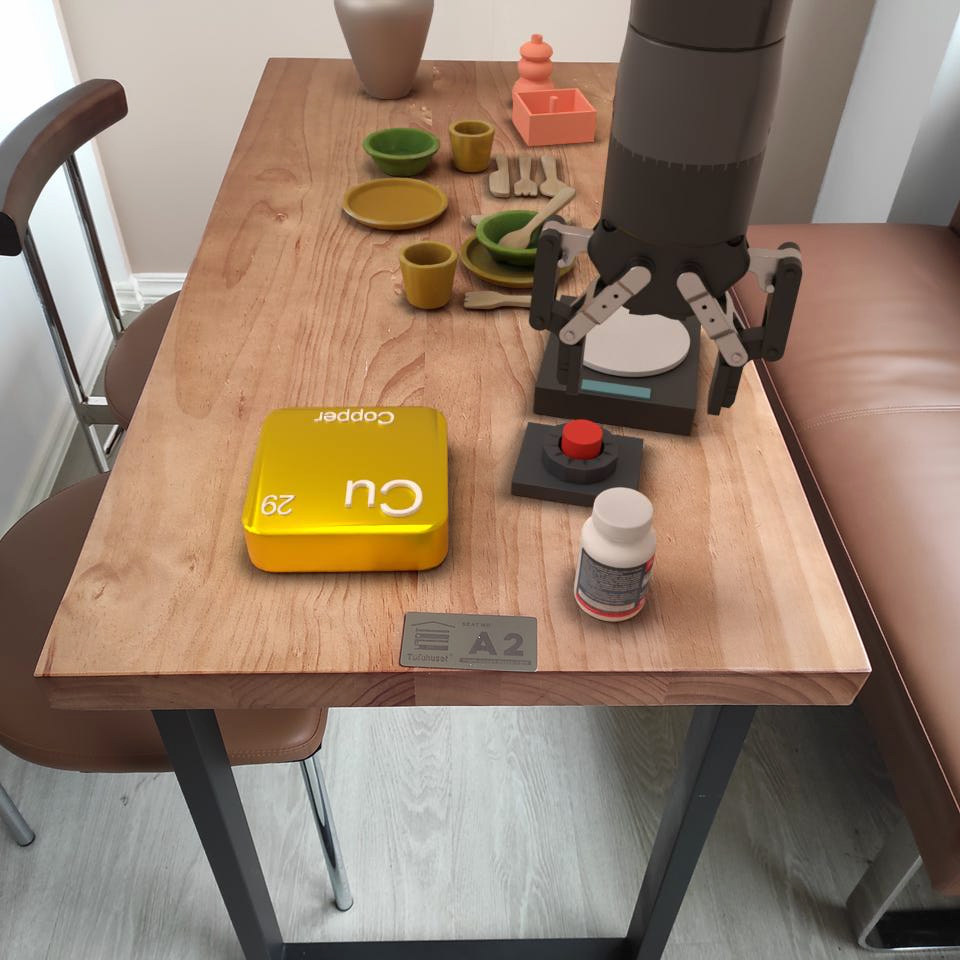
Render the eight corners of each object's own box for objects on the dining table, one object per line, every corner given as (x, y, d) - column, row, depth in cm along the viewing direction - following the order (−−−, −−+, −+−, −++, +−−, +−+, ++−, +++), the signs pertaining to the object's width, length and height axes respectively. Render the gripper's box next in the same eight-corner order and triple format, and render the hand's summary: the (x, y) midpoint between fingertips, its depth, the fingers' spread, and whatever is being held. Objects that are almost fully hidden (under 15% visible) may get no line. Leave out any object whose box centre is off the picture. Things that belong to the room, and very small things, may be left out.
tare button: (602, 439, 77) (604, 422, 76) (598, 463, 75) (600, 446, 73) (564, 433, 77) (566, 416, 76) (558, 457, 75) (560, 440, 74)
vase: (424, 113, 136) (420, -83, 120) (329, 104, 138) (312, -89, 121) (443, 79, 147) (442, -105, 130) (355, 72, 149) (343, -111, 132)
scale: (696, 337, 93) (703, 305, 91) (690, 436, 82) (697, 401, 79) (558, 319, 95) (561, 287, 93) (533, 413, 84) (535, 379, 81)
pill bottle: (649, 624, 66) (668, 536, 60) (575, 623, 66) (587, 534, 60) (640, 569, 70) (658, 481, 64) (571, 567, 70) (582, 480, 64)
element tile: (447, 443, 80) (446, 399, 77) (448, 572, 69) (448, 527, 66) (272, 444, 80) (264, 400, 76) (245, 575, 68) (235, 529, 65)
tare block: (641, 450, 80) (646, 423, 78) (633, 514, 74) (638, 486, 72) (527, 434, 81) (529, 406, 79) (510, 494, 76) (512, 466, 74)
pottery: (593, 141, 130) (601, 68, 123) (528, 146, 128) (532, 72, 121) (557, 95, 143) (562, 27, 136) (498, 99, 141) (500, 30, 134)
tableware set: (585, 320, 95) (591, 265, 91) (314, 314, 95) (308, 259, 91) (562, 155, 126) (566, 108, 122) (358, 151, 126) (354, 103, 121)
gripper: (530, 141, 43) (514, 418, 54) (848, 174, 41) (765, 455, 52) (554, 86, 48) (535, 347, 59) (836, 112, 46) (763, 378, 57)
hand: (643, 397), depth 56 cm, fingers open, 8 cm apart
